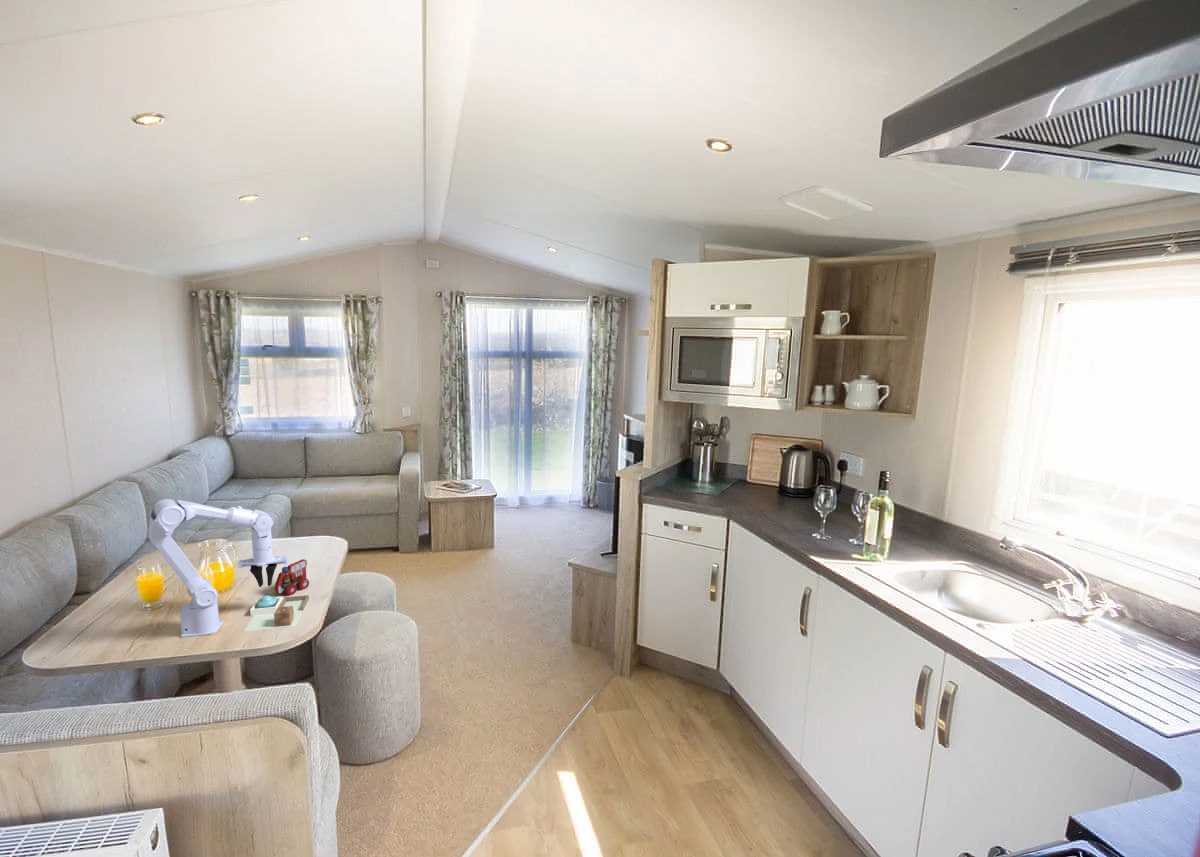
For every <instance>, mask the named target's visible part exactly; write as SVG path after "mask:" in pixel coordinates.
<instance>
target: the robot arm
mask: <svg viewBox="0 0 1200 857" xmlns="http://www.w3.org/2000/svg"><path fill="white" fill-rule="evenodd" d="M195 517H200V518H208V519H213V520H222V521H224V523H225V525H228V526H233V527H240V528H244V529H245V528H246V529H251V545H252V546H251V547H252V557H251V558H246V559H243V560H242V559H241V560H239V561H238V562H237V566H238V569H240V568H243V567H250V568H249V572H250V573H251V574H252V576H253V577H254V578H255V580H256V582H257V585H258V587H260V588H261V587H262V586H263V585H264V576H263V566H266V567H265V571H266V576H267V587H271V586H272V584H273V578H274V574H275V571H276V569H277V566H278V565H281V564H283V565H289V556H276V555H274V550H273V548H274V547H273V535H272V527H273V525H274V521H273V518H272V516H270V515H269V514H268V513H267V512H265V511H263V510H259V509H252V510H251V509H248V508H243V507H242V506H239V505H237V506H236V507H235V506H231V507H230V508H227V509H225V508H224V509H223V508H219V507H215V506H212V505H211V506H210V505H206V504H201V503H197V502H193V501H188V500H187V501H186V500H180V499H178V500H177V499H176V500H174V499H170V498H164V499H161V500H158V502H156V503H155V504H154V506H153V508H152V509H151V511H150V512H149V527H148V538H149V540H150V542H151V543H152V544H153V546H155V548H156V550H157V551H158V552H159V553H160V554H161V556H162V557H163V558H164V559H165V561H166V562H167V564H168V565H169V566H170V567H171V568H172V570H173V571H174V572H175V574H176V575H177V576H178V578H179V579H180V580H181V581H182V582H183V584H184V585H185V586H186V587H187V594H188V596H189V597H190V598H191V600H190V603H187V604H184V605H183V606H182V608H181V609H180V614H179V620H180V629H181V635H180V637H181V638H186V637H187V638H188V637H198V636H206V635H212V634H215V633H217V631H219V629H220V627H221V626H222V625H223V624H224V622H225V619H224V620H220V613H219V604H218V597H219V593H218V591H217V590H216V588H214V587H213V585H212V583H211V582H210V580H209V579H206V578H203V576H201V574H200V573H199V571H198V570H197V569H196V568H195V566H194V565H193V564H192V562H191V561H190V560H189V558H188V557H187V556H186V555H185V553H184V552H183V550H182V549H181V548H180V547H179V545H178V544H177V543H176V541H175V540H174V539H173V537H172V535H173V533H174V531H175V529H176V528H177V527H178V526H179V525H180V524H181V523H182V522H184V521H183V520H185V521H189V520H191V519H192V518H195Z"/></svg>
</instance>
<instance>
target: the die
mask: <svg viewBox="0 0 1200 857" xmlns="http://www.w3.org/2000/svg"><path fill="white" fill-rule="evenodd" d="M293 620H294V611H293V606H287V607H278V608H277V610H276V611H275V613H274V622H275V627H279V626H289V625H291V623H292V621H293Z"/></svg>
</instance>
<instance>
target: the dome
mask: <svg viewBox="0 0 1200 857" xmlns="http://www.w3.org/2000/svg"><path fill="white" fill-rule="evenodd" d="M276 598H277V597H276V596H273V595H265V596H263V597H261V598H258V599H259V600H258V599H257V600H258V601H257V600H256V601H257V607H258V608H268V607H273V606H275V605H276V603H277V602H276Z"/></svg>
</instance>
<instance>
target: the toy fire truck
mask: <svg viewBox="0 0 1200 857" xmlns="http://www.w3.org/2000/svg"><path fill="white" fill-rule="evenodd" d="M307 562H308V560H306V559H300V560H297V561H295V562H294V563H291V564H287V565H288V566H283V567H282V568H281V571H280V572H279V573H278V575H277V578H276V582H275V584H274V592H275V593H276V594H279V595H280V594H282V593H285V595H287V596H292V595H294V594H295V593H296V592H297V590H298V589H299V590H302V591H303V590H306V589H307V588H309V585H310V581H309V579H308V578H307V566H308V563H307Z"/></svg>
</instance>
